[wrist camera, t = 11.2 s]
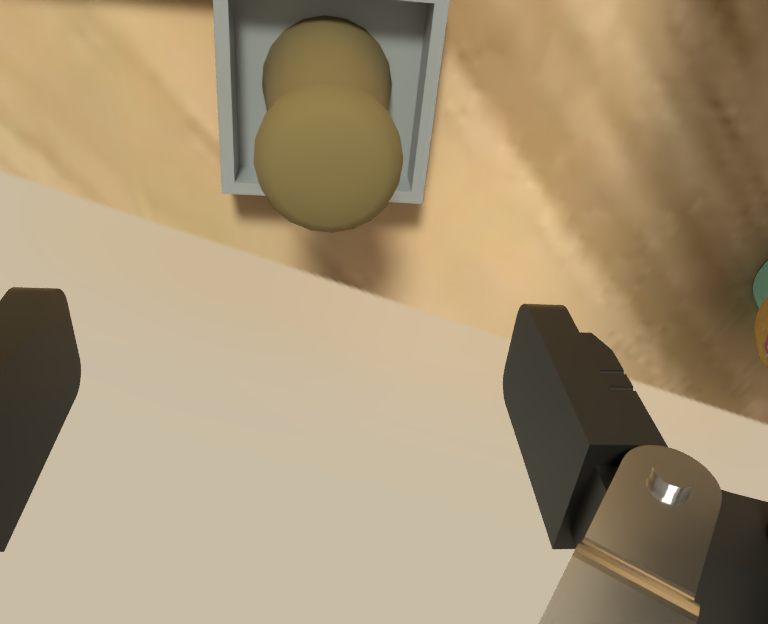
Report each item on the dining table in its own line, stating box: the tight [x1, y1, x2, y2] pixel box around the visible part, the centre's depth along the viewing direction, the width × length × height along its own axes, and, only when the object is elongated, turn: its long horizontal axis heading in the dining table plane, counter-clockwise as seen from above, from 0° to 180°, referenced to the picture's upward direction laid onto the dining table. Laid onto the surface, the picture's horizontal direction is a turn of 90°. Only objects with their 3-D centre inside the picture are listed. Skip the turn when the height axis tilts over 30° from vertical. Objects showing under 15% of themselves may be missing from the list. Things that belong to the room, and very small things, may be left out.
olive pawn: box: [253, 15, 403, 232], centre depth 26 cm, size 6×6×11 cm
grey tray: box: [213, 0, 449, 204], centre depth 30 cm, size 10×10×2 cm
